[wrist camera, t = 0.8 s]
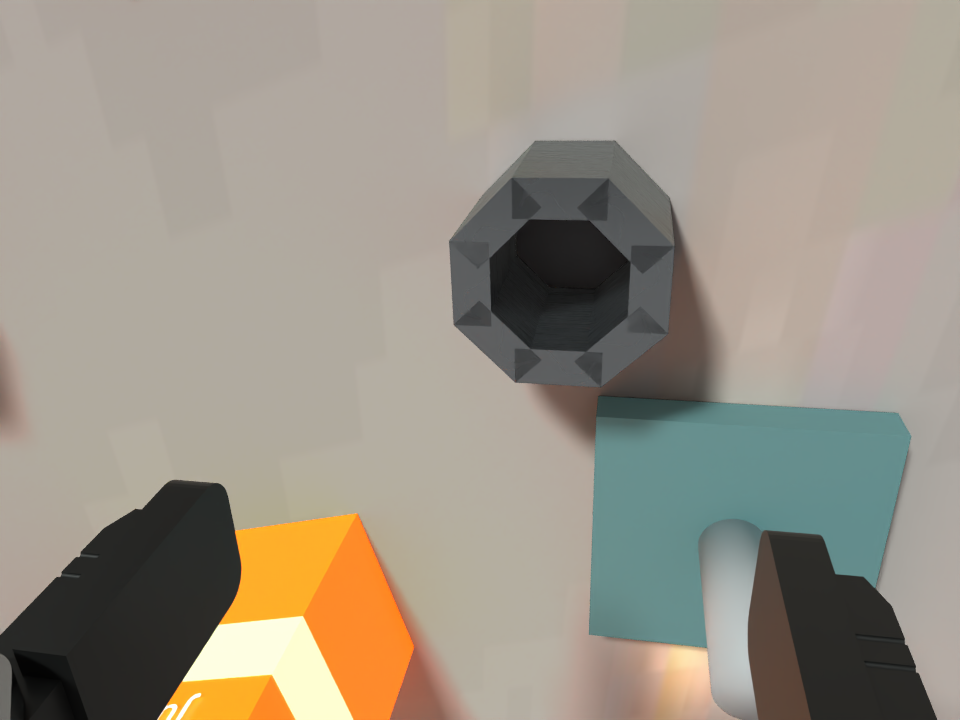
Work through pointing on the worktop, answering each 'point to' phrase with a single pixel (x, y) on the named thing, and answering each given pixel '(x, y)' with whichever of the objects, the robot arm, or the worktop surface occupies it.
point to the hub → (565, 311)
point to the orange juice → (301, 632)
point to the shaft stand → (727, 515)
